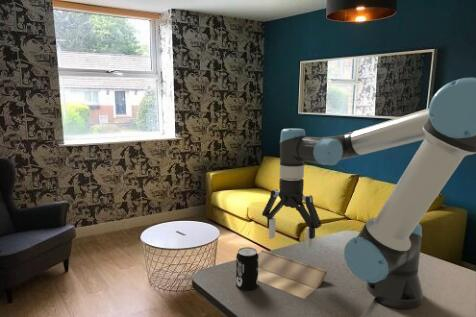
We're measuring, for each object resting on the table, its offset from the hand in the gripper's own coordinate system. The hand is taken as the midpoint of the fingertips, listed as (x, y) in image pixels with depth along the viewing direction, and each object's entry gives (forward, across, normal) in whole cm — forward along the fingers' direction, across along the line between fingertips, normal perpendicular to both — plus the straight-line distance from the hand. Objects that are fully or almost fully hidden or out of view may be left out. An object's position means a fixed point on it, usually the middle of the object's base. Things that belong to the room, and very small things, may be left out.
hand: (289, 242), depth 116 cm
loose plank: (+9, 0, +1) cm, 9 cm away
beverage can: (+11, +5, +16) cm, 20 cm away
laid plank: (+11, 0, +8) cm, 14 cm away
